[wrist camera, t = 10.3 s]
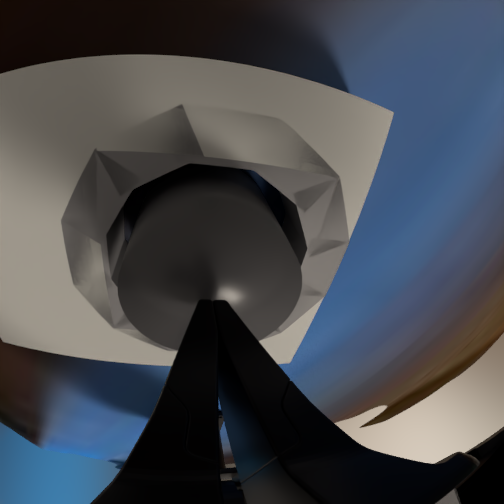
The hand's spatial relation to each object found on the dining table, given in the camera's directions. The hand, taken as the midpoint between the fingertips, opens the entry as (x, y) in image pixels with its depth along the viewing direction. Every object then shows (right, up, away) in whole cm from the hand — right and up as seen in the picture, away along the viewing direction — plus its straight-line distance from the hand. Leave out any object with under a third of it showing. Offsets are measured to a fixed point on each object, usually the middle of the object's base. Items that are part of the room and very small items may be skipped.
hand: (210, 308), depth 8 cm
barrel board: (-4, +3, +3) cm, 6 cm away
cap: (-1, +3, +4) cm, 5 cm away
